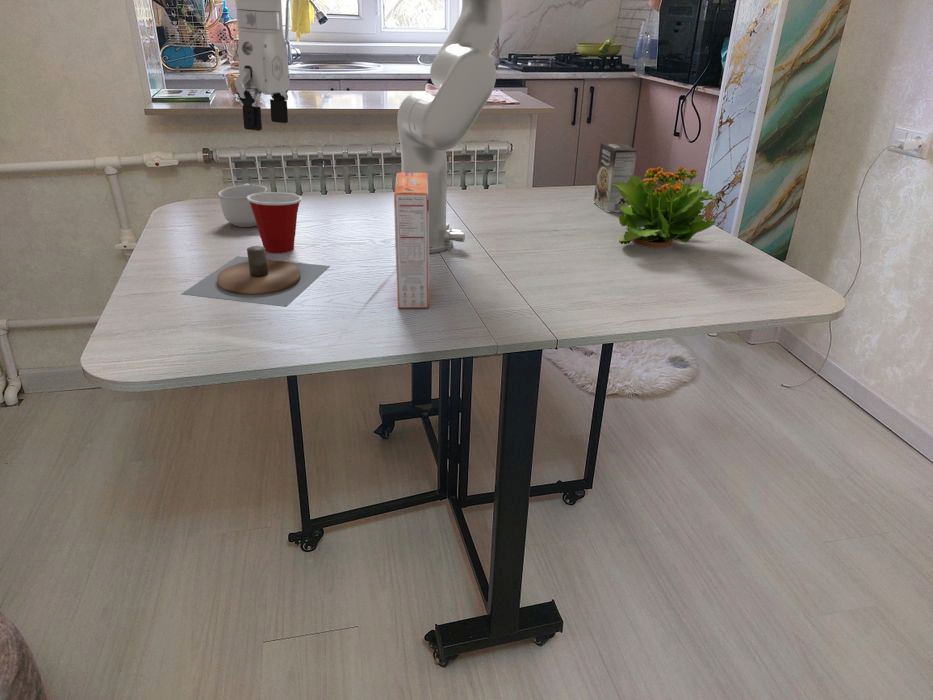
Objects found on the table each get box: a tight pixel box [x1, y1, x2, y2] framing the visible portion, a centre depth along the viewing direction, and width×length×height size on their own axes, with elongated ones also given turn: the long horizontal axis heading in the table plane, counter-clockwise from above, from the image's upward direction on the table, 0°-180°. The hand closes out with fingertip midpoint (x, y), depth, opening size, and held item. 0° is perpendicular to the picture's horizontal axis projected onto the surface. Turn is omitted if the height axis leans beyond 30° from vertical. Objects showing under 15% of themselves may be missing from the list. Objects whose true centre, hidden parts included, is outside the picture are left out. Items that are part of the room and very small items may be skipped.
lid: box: [217, 245, 301, 295], centre depth 125 cm, size 15×15×6 cm
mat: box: [181, 255, 331, 307], centre depth 127 cm, size 20×20×1 cm
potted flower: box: [611, 166, 717, 249], centre depth 152 cm, size 25×24×18 cm
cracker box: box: [393, 171, 430, 309], centre depth 120 cm, size 14×6×21 cm, turn 3°
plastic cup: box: [247, 191, 303, 254], centre depth 140 cm, size 11×11×12 cm
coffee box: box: [593, 142, 638, 212], centre depth 176 cm, size 9×6×16 cm
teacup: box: [218, 183, 268, 228], centre depth 158 cm, size 14×11×8 cm
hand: (266, 125), depth 124 cm, fingers open, 9 cm apart
